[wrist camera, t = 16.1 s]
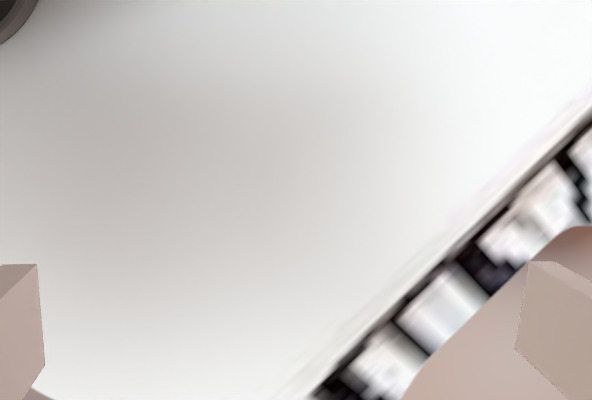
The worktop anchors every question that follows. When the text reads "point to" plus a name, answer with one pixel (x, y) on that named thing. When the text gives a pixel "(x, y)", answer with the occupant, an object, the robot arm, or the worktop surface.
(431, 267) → the worktop surface
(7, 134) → the worktop surface
